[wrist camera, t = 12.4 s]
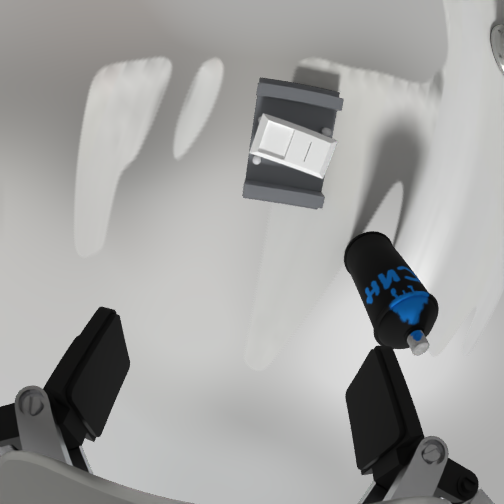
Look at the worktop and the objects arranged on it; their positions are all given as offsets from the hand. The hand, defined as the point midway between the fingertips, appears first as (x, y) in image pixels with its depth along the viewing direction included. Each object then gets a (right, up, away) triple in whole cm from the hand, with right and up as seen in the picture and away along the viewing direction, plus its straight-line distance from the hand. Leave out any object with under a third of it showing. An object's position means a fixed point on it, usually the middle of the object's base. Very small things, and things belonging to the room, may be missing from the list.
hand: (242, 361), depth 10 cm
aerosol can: (+18, +3, +31) cm, 37 cm away
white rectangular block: (+5, +17, +22) cm, 28 cm away
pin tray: (+5, +18, +25) cm, 31 cm away
